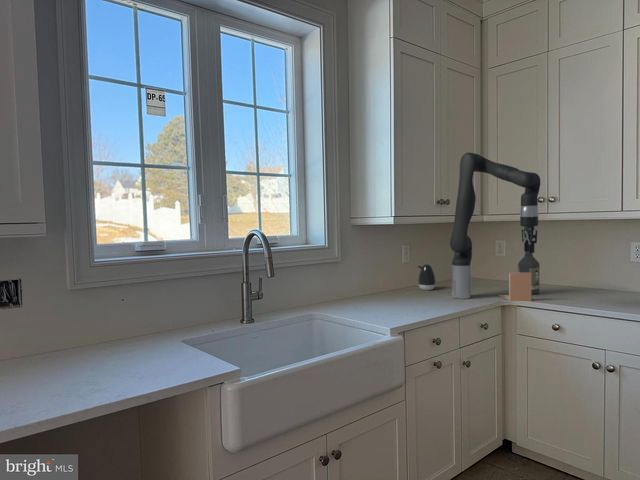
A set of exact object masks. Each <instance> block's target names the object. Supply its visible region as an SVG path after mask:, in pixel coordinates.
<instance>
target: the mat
mask: <svg viewBox="0 0 640 480" xmlns="http://www.w3.org/2000/svg"><path fill="white" fill-rule="evenodd" d="M497 296H498V297H499V298H501V299H502V300H509V294H497ZM533 299H534V298H532V297H531V301H532V300H533ZM509 301H510V300H509Z"/></svg>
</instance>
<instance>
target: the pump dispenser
mask: <svg viewBox="0 0 640 480" xmlns="http://www.w3.org/2000/svg"><path fill="white" fill-rule="evenodd" d="M417 268H419V269H420V271H419V275H418V278H417V279H418V281H417V284H418V286H419V288H420V289H421V290H422V291H433V289H435V286H436V283H437V282H436V274H435V272H434V269H433V267H432V266H431V265H430V264H428V263H425V264H423V265H422V266H421V265H417Z"/></svg>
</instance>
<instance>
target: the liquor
mask: <svg viewBox="0 0 640 480" xmlns="http://www.w3.org/2000/svg"><path fill="white" fill-rule="evenodd" d="M533 254H534V253H529V252H525V251H524V256H523V257H522V258H521V259H520V260H519V262H518V263H517V273H525V272H530V273H531V296H536V295H539V294H540V268H541V267H540V262H539V261H538V260H537V259H536V258H535V257H534V255H533Z"/></svg>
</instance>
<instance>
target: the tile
mask: <svg viewBox="0 0 640 480" xmlns="http://www.w3.org/2000/svg"><path fill="white" fill-rule="evenodd" d="M508 278H509V279H508V295H509V301H510V302H532V300H531V298H532V295H531V273H530V272H525V273H518V272H508Z"/></svg>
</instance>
